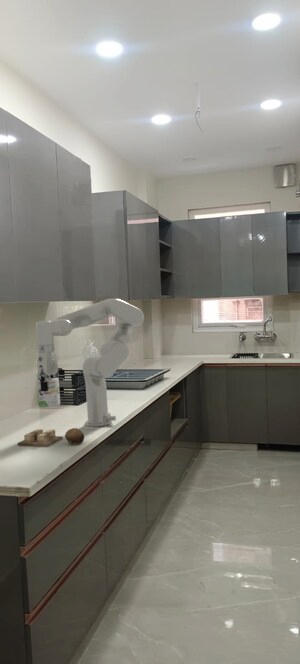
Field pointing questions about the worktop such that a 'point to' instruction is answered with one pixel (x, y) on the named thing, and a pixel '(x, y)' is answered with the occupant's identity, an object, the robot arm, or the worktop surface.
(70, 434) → the mushroom
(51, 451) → the worktop surface
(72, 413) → the worktop surface
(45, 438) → the stand
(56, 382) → the ink box
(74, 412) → the worktop surface
